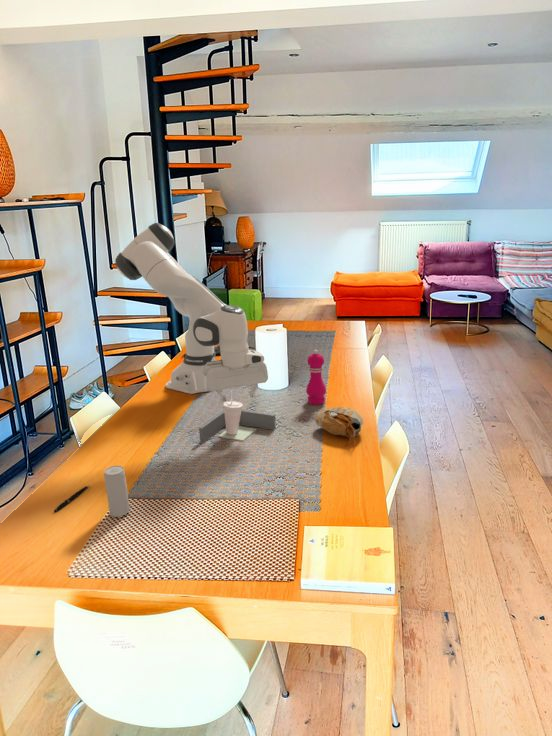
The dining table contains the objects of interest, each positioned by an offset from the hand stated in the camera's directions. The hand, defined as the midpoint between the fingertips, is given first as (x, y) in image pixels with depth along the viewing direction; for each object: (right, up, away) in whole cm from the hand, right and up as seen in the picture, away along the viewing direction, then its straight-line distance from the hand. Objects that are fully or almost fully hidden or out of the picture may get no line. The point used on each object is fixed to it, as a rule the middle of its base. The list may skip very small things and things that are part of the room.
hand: (237, 399), depth 178 cm
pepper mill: (+27, -3, +28) cm, 39 cm away
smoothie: (-2, -11, +3) cm, 12 cm away
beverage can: (-27, -26, -39) cm, 54 cm away
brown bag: (+33, -12, -1) cm, 35 cm away
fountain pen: (-41, -25, -32) cm, 57 cm away
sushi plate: (-13, +20, +103) cm, 105 cm away
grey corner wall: (0, -12, +2) cm, 12 cm away
